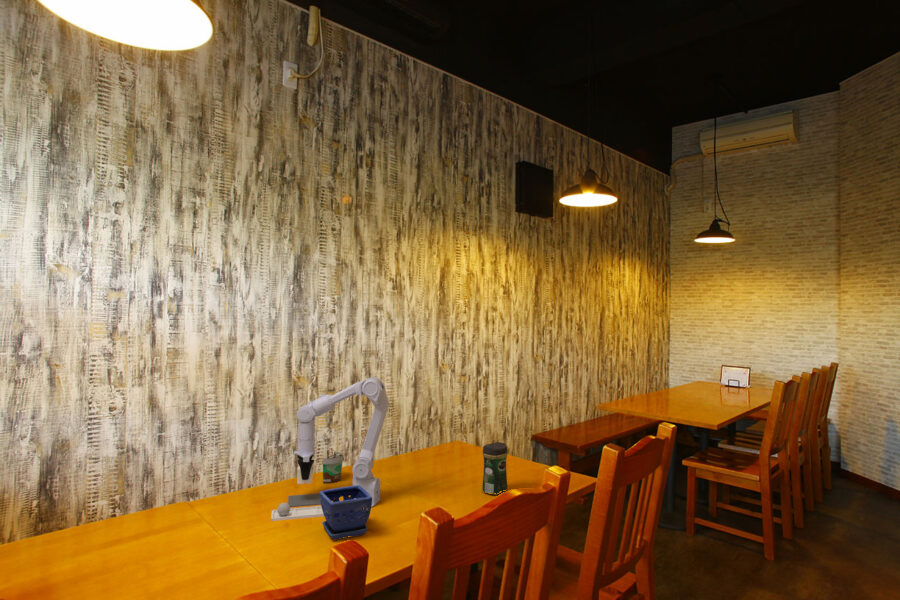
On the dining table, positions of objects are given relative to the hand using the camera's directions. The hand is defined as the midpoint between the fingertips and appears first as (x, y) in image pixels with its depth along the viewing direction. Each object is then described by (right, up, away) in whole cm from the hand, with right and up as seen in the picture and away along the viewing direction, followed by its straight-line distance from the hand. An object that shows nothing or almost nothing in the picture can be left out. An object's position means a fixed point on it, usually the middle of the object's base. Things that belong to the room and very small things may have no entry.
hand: (305, 477), depth 185 cm
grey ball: (-3, -8, -15) cm, 17 cm away
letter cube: (0, -2, 0) cm, 2 cm away
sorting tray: (+4, -8, -12) cm, 15 cm away
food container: (+5, -10, +24) cm, 26 cm away
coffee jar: (+69, -11, +13) cm, 71 cm away
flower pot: (+20, -8, -26) cm, 34 cm away
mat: (0, -9, 0) cm, 8 cm away
